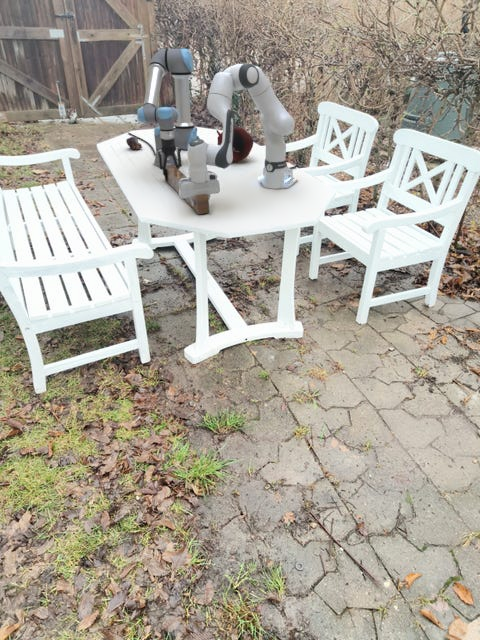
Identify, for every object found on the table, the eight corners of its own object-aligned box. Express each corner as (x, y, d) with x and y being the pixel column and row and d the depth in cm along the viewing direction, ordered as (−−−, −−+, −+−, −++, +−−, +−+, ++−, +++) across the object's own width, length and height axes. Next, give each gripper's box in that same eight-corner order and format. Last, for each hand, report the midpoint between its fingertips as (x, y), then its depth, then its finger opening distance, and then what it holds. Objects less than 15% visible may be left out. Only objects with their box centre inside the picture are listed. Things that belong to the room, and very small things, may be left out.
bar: (164, 179, 265) (163, 165, 261) (173, 177, 267) (172, 163, 262) (198, 214, 219) (197, 198, 214) (209, 212, 221) (208, 196, 216)
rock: (139, 148, 333) (125, 149, 329) (137, 135, 329) (123, 137, 325) (143, 149, 323) (130, 150, 319) (141, 136, 320) (128, 137, 316)
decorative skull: (214, 133, 304) (214, 130, 280) (248, 125, 303) (250, 121, 280) (221, 165, 311) (221, 165, 287) (254, 158, 310) (257, 157, 286)
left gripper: (153, 141, 243) (157, 184, 256) (185, 138, 249) (188, 179, 262) (149, 138, 248) (154, 180, 262) (181, 135, 254) (184, 176, 268)
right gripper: (179, 180, 208) (182, 209, 216) (220, 175, 215) (221, 203, 223) (175, 177, 213) (178, 205, 221) (215, 171, 220) (216, 199, 227)
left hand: (171, 179), depth 262 cm, fingers closed on bar, 5 cm apart
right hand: (200, 204), depth 222 cm, fingers closed on bar, 5 cm apart
